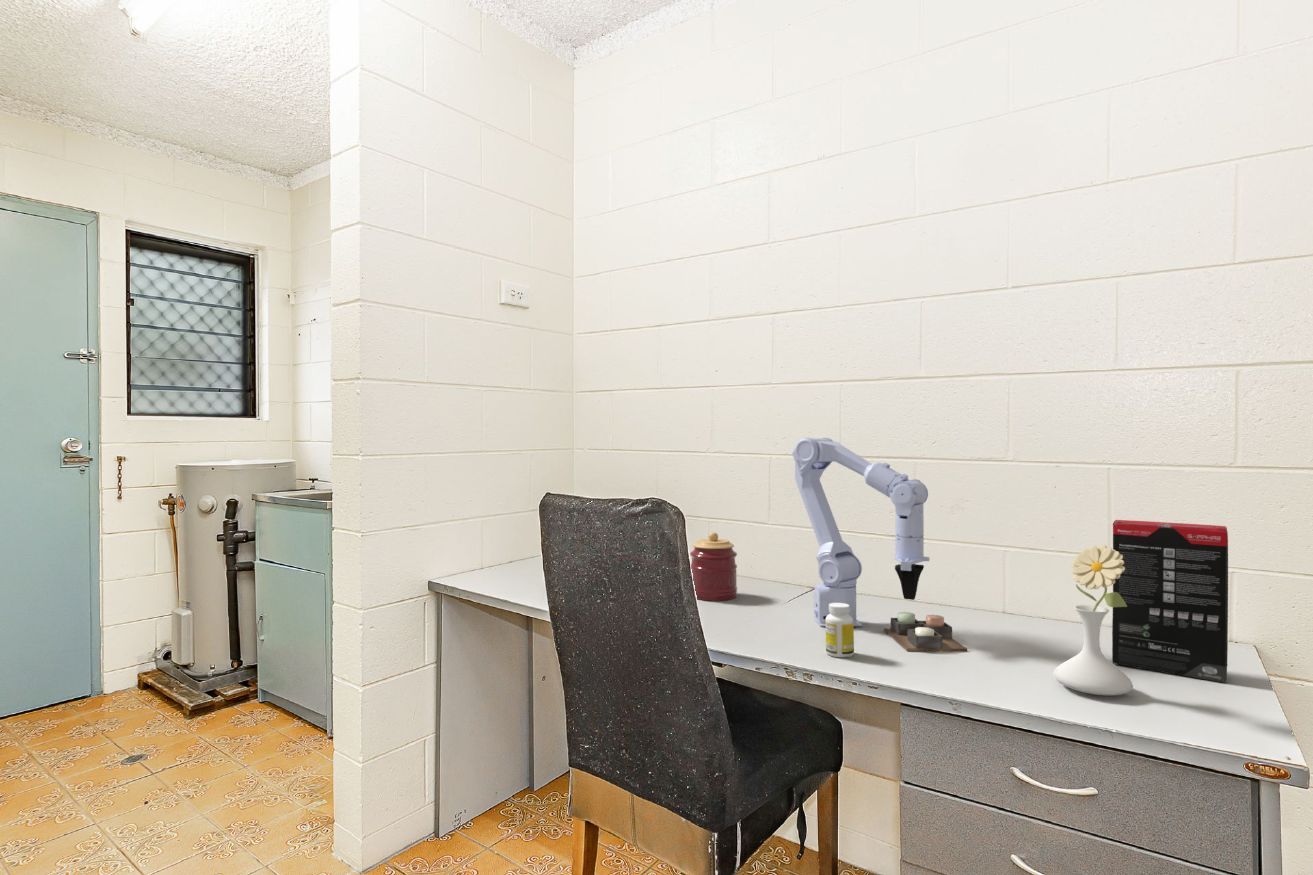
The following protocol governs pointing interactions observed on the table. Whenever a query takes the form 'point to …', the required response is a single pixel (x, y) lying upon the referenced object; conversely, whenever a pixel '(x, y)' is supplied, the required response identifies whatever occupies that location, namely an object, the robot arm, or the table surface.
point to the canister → (714, 569)
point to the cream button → (924, 631)
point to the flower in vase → (1095, 626)
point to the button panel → (923, 637)
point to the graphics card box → (1172, 598)
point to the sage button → (906, 617)
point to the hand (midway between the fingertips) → (909, 598)
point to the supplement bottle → (839, 631)
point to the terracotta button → (934, 621)
